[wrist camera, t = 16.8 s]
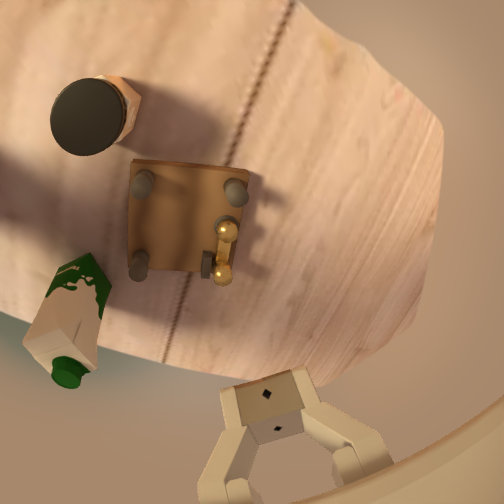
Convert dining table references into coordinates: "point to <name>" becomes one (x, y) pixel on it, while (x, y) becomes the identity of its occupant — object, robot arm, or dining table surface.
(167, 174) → the stool seat
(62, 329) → the milk carton
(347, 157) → the dining table surface
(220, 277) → the gold bone
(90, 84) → the jar
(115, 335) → the dining table surface
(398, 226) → the dining table surface
